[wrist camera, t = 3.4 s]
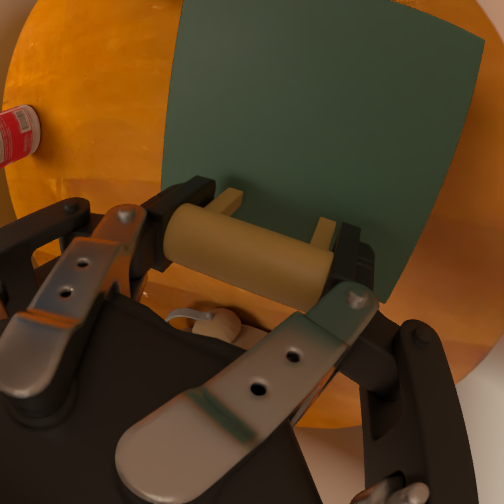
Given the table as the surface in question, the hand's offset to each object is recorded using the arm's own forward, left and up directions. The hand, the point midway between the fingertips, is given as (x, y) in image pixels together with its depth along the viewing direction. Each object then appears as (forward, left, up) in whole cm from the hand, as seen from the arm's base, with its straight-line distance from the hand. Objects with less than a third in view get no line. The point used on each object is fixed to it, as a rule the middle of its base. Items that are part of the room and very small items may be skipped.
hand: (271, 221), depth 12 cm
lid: (-3, 0, -2) cm, 4 cm away
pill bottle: (+3, -32, -10) cm, 33 cm away
